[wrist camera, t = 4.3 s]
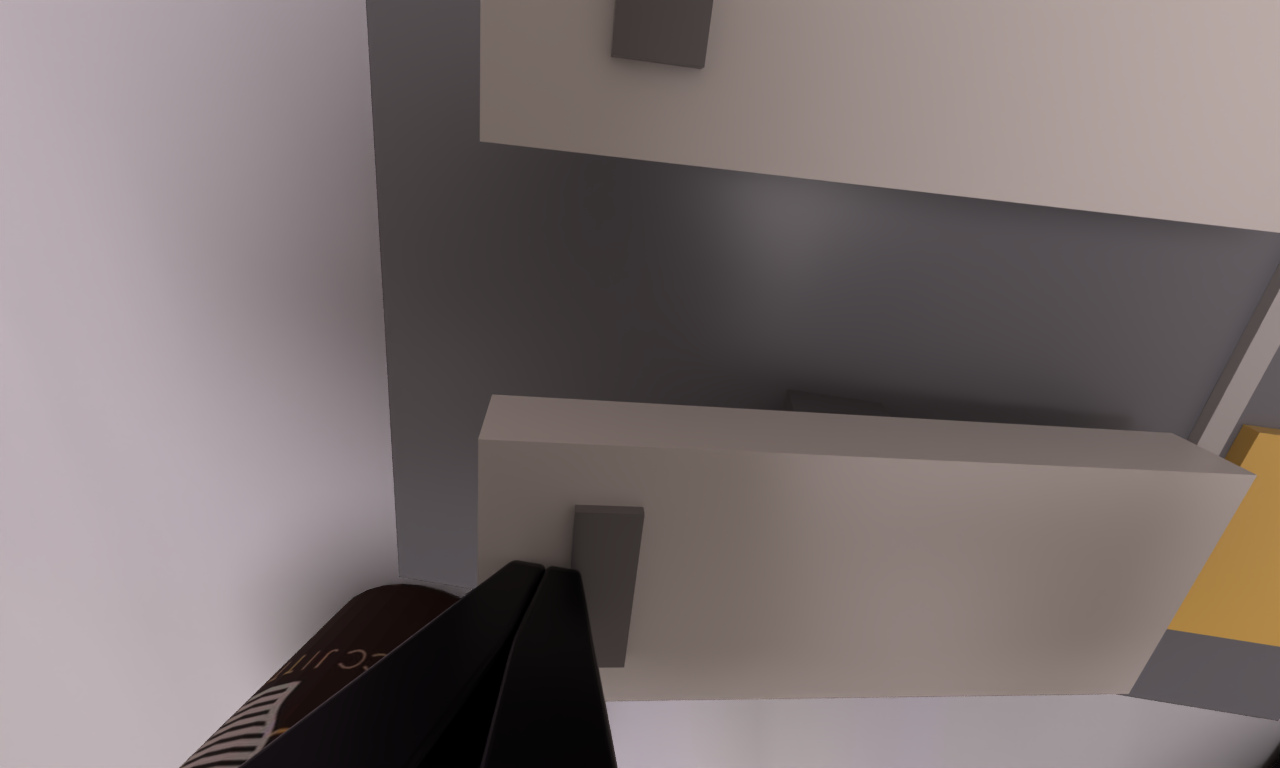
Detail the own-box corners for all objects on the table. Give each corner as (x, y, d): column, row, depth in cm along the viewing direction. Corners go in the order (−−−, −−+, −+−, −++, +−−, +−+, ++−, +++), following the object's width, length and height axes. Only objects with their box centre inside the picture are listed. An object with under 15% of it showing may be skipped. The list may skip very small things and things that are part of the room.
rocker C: (1171, 433, 9) (1269, 481, 8) (1070, 634, 10) (1136, 702, 9) (492, 394, 7) (475, 446, 6) (488, 633, 9) (475, 713, 8)
